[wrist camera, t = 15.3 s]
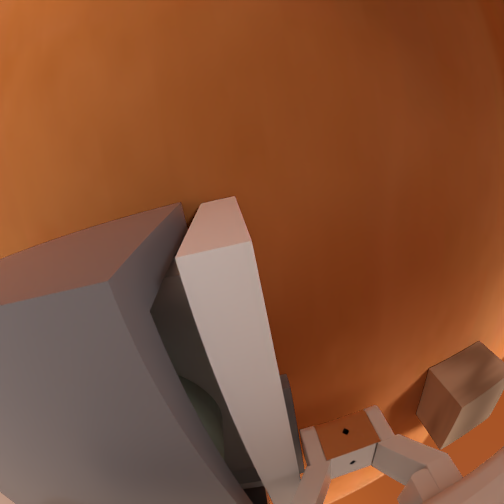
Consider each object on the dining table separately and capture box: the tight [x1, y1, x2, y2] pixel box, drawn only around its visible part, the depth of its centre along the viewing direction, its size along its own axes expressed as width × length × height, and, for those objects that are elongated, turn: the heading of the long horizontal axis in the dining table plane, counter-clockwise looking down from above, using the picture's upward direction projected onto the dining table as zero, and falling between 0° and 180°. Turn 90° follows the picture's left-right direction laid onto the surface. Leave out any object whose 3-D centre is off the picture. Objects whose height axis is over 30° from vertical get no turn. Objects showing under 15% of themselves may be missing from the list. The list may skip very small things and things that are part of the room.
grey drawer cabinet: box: [0, 202, 270, 504], centre depth 9 cm, size 18×16×7 cm
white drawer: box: [150, 196, 304, 504], centre depth 9 cm, size 18×16×6 cm
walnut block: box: [416, 341, 504, 449], centre depth 13 cm, size 5×5×4 cm
